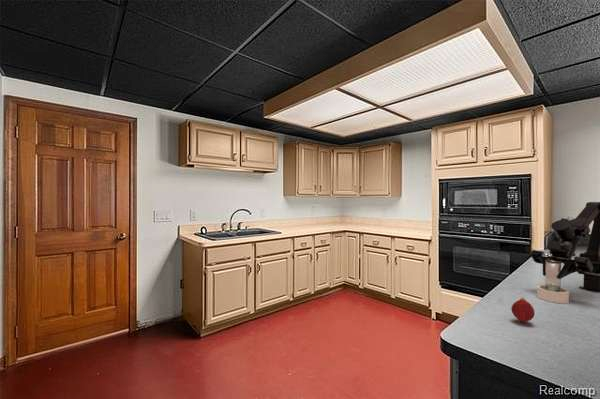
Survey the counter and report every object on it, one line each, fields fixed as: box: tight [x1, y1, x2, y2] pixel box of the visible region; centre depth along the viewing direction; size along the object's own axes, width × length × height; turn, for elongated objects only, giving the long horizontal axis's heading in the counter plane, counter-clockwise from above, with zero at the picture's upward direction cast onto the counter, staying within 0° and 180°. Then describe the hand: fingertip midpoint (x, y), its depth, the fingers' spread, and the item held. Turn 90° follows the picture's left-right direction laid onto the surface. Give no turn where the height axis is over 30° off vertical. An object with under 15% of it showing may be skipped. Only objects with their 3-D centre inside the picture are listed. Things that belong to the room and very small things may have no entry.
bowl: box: [536, 284, 570, 304], centre depth 115 cm, size 9×9×4 cm
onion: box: [510, 296, 536, 324], centre depth 92 cm, size 6×6×8 cm
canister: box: [544, 259, 562, 292], centre depth 115 cm, size 5×5×13 cm
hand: (551, 276), depth 114 cm, fingers closed on canister, 4 cm apart
